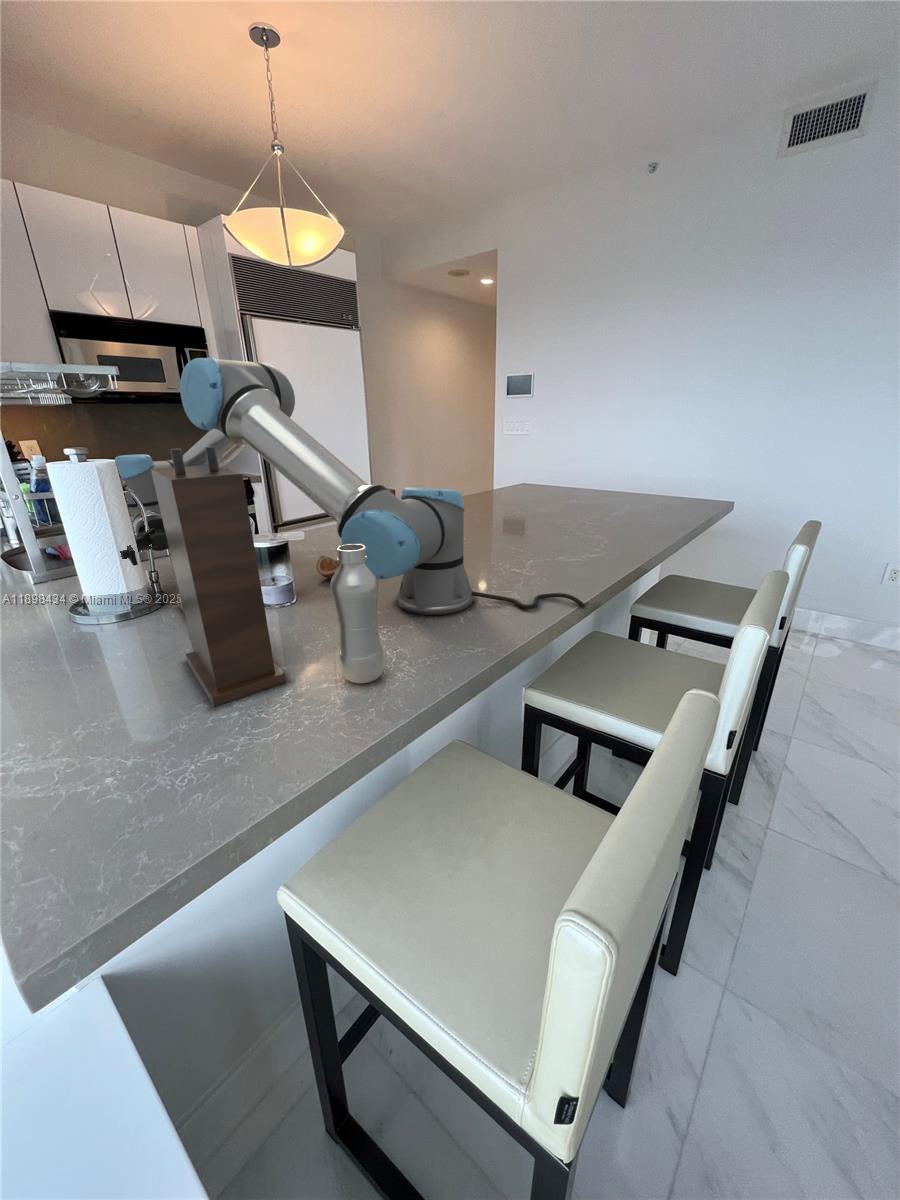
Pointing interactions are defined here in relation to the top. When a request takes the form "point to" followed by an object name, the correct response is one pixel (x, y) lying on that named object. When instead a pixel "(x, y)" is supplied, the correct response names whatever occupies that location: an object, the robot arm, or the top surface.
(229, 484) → the hook stand
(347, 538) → the robot arm
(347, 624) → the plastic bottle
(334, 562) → the fruit slice
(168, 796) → the top surface
